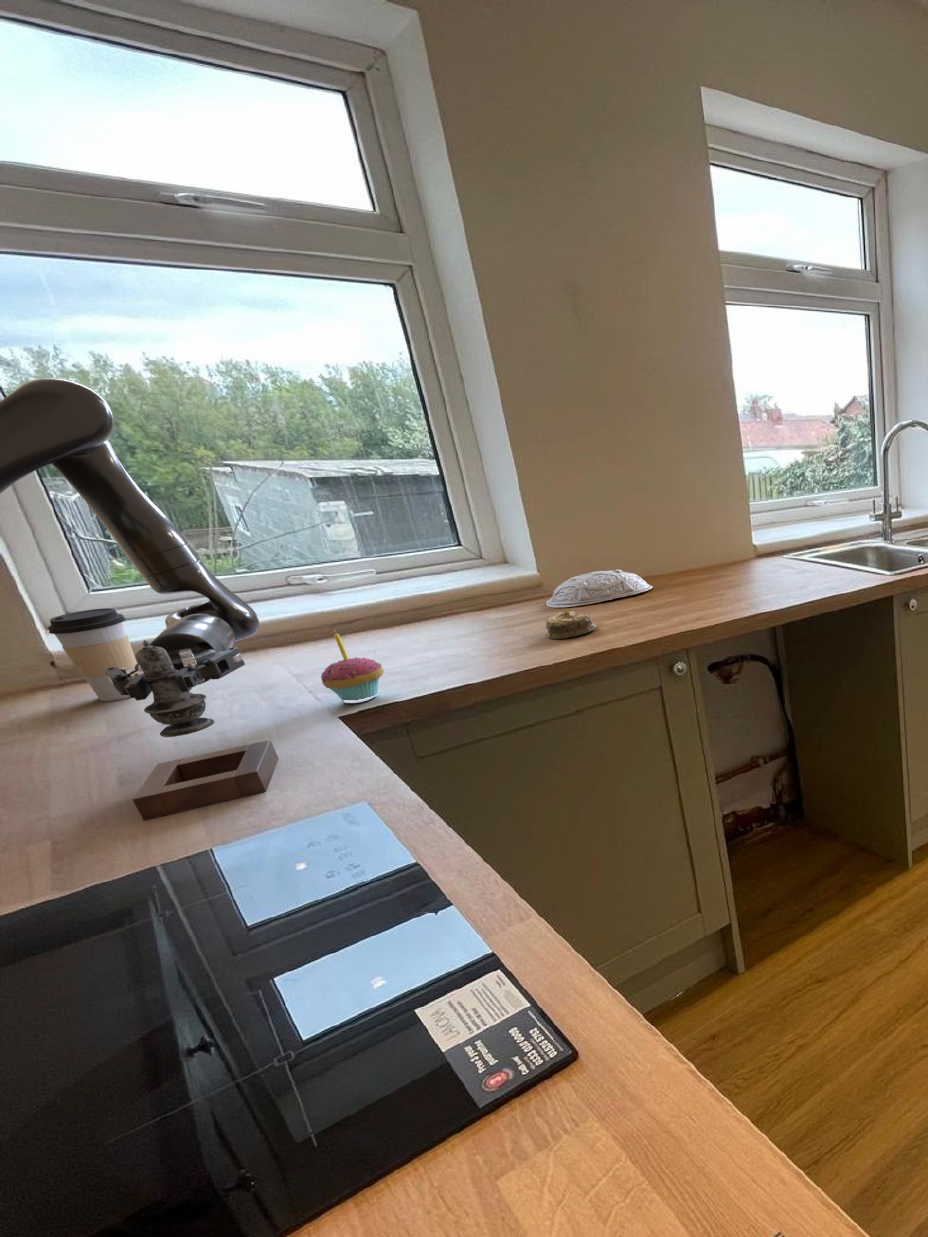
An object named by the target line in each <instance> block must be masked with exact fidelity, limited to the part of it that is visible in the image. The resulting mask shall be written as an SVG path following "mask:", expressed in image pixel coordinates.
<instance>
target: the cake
mask: <svg viewBox="0 0 928 1237" xmlns="http://www.w3.org/2000/svg"><path fill="white" fill-rule="evenodd" d="M596 628H597V624H596V623H593V620H592V619H591V616H589V615H587V614H582V613H581V614H579V615H578V614H577V613H576V611H570V610H568V608H567V607H564V610H563V612H559V613H556V614H554V615H553V616H550V617H548V619H547V620H546V624H545V629H546V630H547V633H546V638H547V639H550V640H553V639H554V640H561V639H568V638H574V637H577V636H580V635H585V634H587V633H590V632H593V631H594V630H595V629H596Z"/></svg>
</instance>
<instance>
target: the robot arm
mask: <svg viewBox="0 0 928 1237" xmlns="http://www.w3.org/2000/svg"><path fill="white" fill-rule="evenodd" d="M113 428H114V417H113V413H112V411H111V408H110V406H109V405H108V403H107V401H106V400H105V399H104V398H103V397H102V396H100V395H99V394H98V393H97V392H95V390H93V389H91V388H89V387H87V386H85V385H83V384H80V383H77V382H74V381H71V380H66V379H59V378H39V379H38V378H37V379H32V380H30V381H27V382H25V383H23V384H21V385H20V386H18V387H16V389H15V390H14V391H12V392H11V393H10V394H9V395H7V396H5V397H4V398H3V399H1V400H0V494H2V493H3V492H5V491H6V490H7V489H8V488H10V487H11V486H12V485H14V484H15V483H16V482H18V481H19V480H21V479H23V478H24V477H26V476H28V475H29V474H32V473H34V472H36V471H38V470H40V469H43V468H44V467H46V466H49V465H51V466H52V467H53V468H55V470H56V471H57V472H58V473H59V474H60V475H61V476H62V477H63V478H64V479H65V480H66V481H67V482H68V484H70V486H72V488H73V489H74V490H75V492H77V494H79V495H80V497H81V498H82V499H83V500H84V502H85V503H86V504H87V505H88V507H89V508H90V509H91V510H92V511H93V513H94V514H95V515H96V517H97V518H98V519H99V520H100V522H101V523H102V525H103V526H104V527H105V529H106V530H107V531H108V533H109V534H110V535H111V537H112V538H113V540H115V542H116V544H117V545H118V546H119V548H120V550H122V552H123V553H124V554H125V556H126V557H127V558H128V560H129V561H130V562H131V563H132V565H133V566H134V567H135V569H136V570H137V571H138V573H139V574H140V576H141V577H143V579H144V581H145V582H146V583H147V584H148V585H149V588H151V589H152V590H153V591H154V592H156V593H157V594H161V595H172V594H178V593H190V592H191V593H197V594H200V595H202V596H204V597H205V598H206V599H208V600H204V601H201V602H199V603H195V604H193V605H189V606H186V607H183V608H180V609H177V610H174V611H172V612H171V613H169V614H168V615H167V616H166V617H165V620H164V623H165V629H163V630H162V631H161V632H160V633H159V634H158V635H157V636H156V637H155V638H154V639H153V640H152V641H151V642H149V645H150V646H154V647H161V648H163V649H165V650H166V651H167V653H168V655H169V657H170V659H171V662H172V664H173V666H174V668H175V669H176V670H179V672H178V673H177V674H176V675H175V680H176V682H177V684H178V687H179V689H180V691H181V692H188V691H189V692H191V691H192V690H193V688H195V687H197V686H198V685H199V686H200V685H203V684H205V683H207V682H209V681H210V680H220V679H222V678H224V677H226V676H227V675H229V674H231V673H233V672H235V671H236V670H238V669H240V668H242V667H243V666H245V665H246V663H245V661H244V658H243V656H242V654H241V652H240V649H239V647H235V646H234V645H235V643H236V642H239V641H243V640H244V639H248V638H251V637H253V636H254V635H256V634H257V633H258V631H259V628H260V620H259V616H258V615H257V613H256V612H255V610H254V609H253V608H252V606H250V605H249V604H248V603H247V602H246V601H245V600H243V599H242V598H241V597H240V596H238V594H236V593H235V592H233V591H232V590H231V589H229V588H228V587H227V586H226V585H225V584H224V583H222V581H220V579H218V578H217V577H216V576H215V575H214V574H213V573H212V572H211V571H210V570H209V569H208V567H206V565H205V564H204V563H203V562H202V560H201V559H200V557H199V555H198V554H197V553H196V552H195V550H194V549H193V547H192V546H191V545H190V543H189V542H188V541H187V539H186V538H185V536H184V535H183V534H182V532H180V531H179V529H178V528H177V527H176V526H175V524H174V523H173V522H172V520H170V519H169V518H168V517H167V516H166V515H165V513H163V511H162V510H161V509H159V507H158V506H156V505H155V504H154V503H153V501H152V500H151V499H150V498H149V497H148V496H147V495H146V494H145V493H144V492H143V491H142V490H141V488H140V487H139V486H138V485H137V483H136V482H135V481H134V480H133V479H132V477H131V476H130V474H129V473H128V472H127V471H126V469H125V468H124V466H123V464H122V463H121V461H120V460H119V458H118V456H117V455H116V452H115V451H114V449H113V447H112V444H111V443H110V440H109V438H110V437H111V434H112V432H113V430H114V429H113ZM134 668H135V669H132V670H127V671H125V669H124V668H120V669H119V668H118V667H110V668H108V669H106V670H105V672H106V674H107V676H108V678H109V679H110V681H111V683H112V685H113V687H114V688H115V689H116V690H117V691H118V692H119V693H120V694H121V695H129V696H130V697H129V698H130V699H135V701H144V700H146V699H147V698H148V697H149V696H150V694H152V693H153V692H152V690H151V688H150V686H149V684H148V682H147V681H143V680H142V679H143V677H145V674H144V672H143V670H142V668H141V666H140V664H139V663H138V662H137V664H136V665H135V667H134Z"/></svg>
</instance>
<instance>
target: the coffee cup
mask: <svg viewBox="0 0 928 1237" xmlns="http://www.w3.org/2000/svg"><path fill="white" fill-rule="evenodd" d="M125 621H127V618H126V617H125V616H124V615H123V613H118V612H117V611H116V609H115V608H113V607H112V608H109V607H106V608H94V609H87V610H80V611H74V612H69V613H65V614H61V615H57V616H54V617H52V618H50V619H49V623H50V625H49V626H48V627H47V630H48V633H49V634H51V635H54V636H55V637H56V639H57V640H58V641H59V643H60V644H61V648H62V649H63V651H64V652H65V653H66V655H67V657H68V658H69V660H70V661H71V663H72V664H73V665H74V667H75V668H76V670H77V671H78V673H79V674H80V675H81V677H83V678H84V679H85V681H86V682H87V684H88V685H89V686H90V688H91V689H92V691H93V692H94V693H95V695H96V696H97V698H98V699H99V701H101V702H115V701H119V700H124V699H128V698H130V696H129V695H121V694H120V693H119V692H118V691H117V690H116V689H115V688H114V687H113V685H112V683H111V681H110V679H109V678H108V676H107V674H106V672H105V670H106V669H108V668H110V667H118V668H119V669H120V668H124V669H125V671H127V670H132V669H135V668H134V667H135V665H136V664H137V663H138V661H137V659H136V655H135V654H134V650H133V647H132V645H131V642H130V639H129V636H128V634H126V631H125V628H124V625H123V623H124V622H125Z"/></svg>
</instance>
